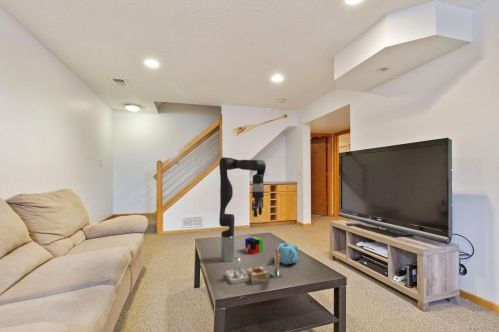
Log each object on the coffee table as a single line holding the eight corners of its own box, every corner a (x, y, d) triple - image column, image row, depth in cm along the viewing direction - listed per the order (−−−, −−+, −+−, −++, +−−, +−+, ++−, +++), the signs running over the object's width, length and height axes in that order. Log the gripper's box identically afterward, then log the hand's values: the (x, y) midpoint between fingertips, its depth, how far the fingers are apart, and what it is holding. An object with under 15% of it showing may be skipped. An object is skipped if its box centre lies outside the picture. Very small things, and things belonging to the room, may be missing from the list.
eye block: (247, 276, 141) (247, 268, 141) (261, 274, 144) (261, 266, 144) (253, 284, 131) (253, 275, 131) (269, 281, 135) (269, 272, 135)
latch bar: (273, 265, 130) (273, 248, 130) (273, 255, 145) (273, 240, 146) (280, 265, 129) (280, 248, 129) (280, 255, 145) (280, 240, 145)
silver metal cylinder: (232, 275, 141) (232, 257, 141) (239, 274, 142) (239, 256, 142) (235, 279, 136) (235, 260, 137) (241, 277, 138) (242, 259, 138)
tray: (225, 274, 143) (225, 271, 143) (242, 272, 147) (242, 268, 147) (231, 284, 131) (231, 280, 131) (249, 281, 135) (249, 276, 135)
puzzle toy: (245, 251, 188) (245, 238, 188) (254, 248, 194) (254, 236, 194) (252, 254, 180) (252, 241, 180) (262, 251, 186) (262, 239, 186)
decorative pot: (271, 263, 162) (271, 244, 162) (279, 256, 176) (279, 238, 176) (293, 268, 154) (293, 248, 154) (300, 260, 168) (300, 241, 168)
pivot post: (270, 274, 144) (270, 256, 145) (278, 272, 147) (278, 255, 147) (274, 278, 139) (274, 259, 139) (283, 276, 141) (283, 258, 141)
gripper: (259, 191, 141) (259, 218, 141) (266, 190, 154) (266, 214, 154) (248, 191, 144) (248, 217, 144) (256, 189, 157) (256, 213, 157)
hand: (257, 215), depth 149 cm, fingers open, 8 cm apart
